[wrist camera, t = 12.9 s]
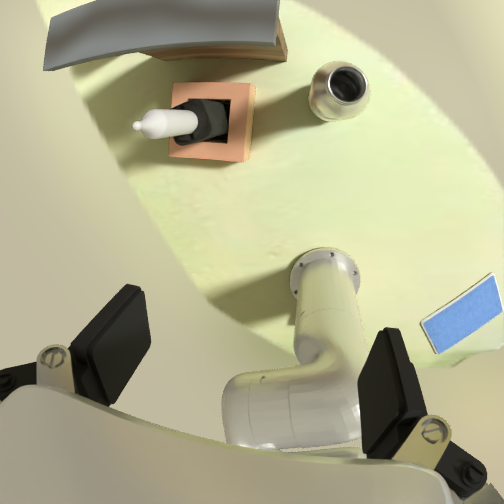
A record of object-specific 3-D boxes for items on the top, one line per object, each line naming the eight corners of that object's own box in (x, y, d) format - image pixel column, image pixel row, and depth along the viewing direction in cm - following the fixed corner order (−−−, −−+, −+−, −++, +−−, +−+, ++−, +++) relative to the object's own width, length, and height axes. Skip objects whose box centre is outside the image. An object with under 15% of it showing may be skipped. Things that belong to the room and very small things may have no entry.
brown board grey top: (290, 85, 40) (273, 42, 17) (157, 82, 42) (42, 70, 19) (294, 50, 37) (279, -25, 14) (160, 50, 40) (51, 17, 17)
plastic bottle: (302, 112, 41) (300, 104, 23) (316, 73, 38) (324, 39, 20) (341, 128, 41) (368, 132, 23) (356, 89, 38) (392, 68, 20)
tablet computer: (435, 353, 56) (437, 356, 55) (418, 319, 53) (420, 323, 52) (502, 308, 48) (504, 311, 47) (491, 268, 46) (494, 271, 44)
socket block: (249, 158, 46) (243, 162, 41) (181, 152, 47) (168, 156, 43) (256, 87, 41) (250, 83, 36) (185, 85, 42) (173, 82, 38)
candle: (208, 141, 46) (121, 164, 23) (198, 112, 44) (103, 113, 21) (237, 130, 44) (169, 142, 22) (227, 101, 42) (150, 86, 20)
